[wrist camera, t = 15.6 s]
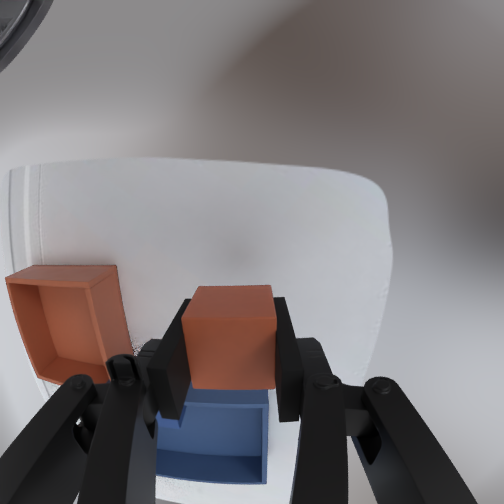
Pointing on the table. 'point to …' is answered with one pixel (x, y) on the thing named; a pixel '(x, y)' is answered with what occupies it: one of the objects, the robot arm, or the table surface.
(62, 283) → the terracotta bin
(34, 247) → the table surface
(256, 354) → the terracotta block
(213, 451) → the blue bin
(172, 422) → the blue block
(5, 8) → the robot arm
